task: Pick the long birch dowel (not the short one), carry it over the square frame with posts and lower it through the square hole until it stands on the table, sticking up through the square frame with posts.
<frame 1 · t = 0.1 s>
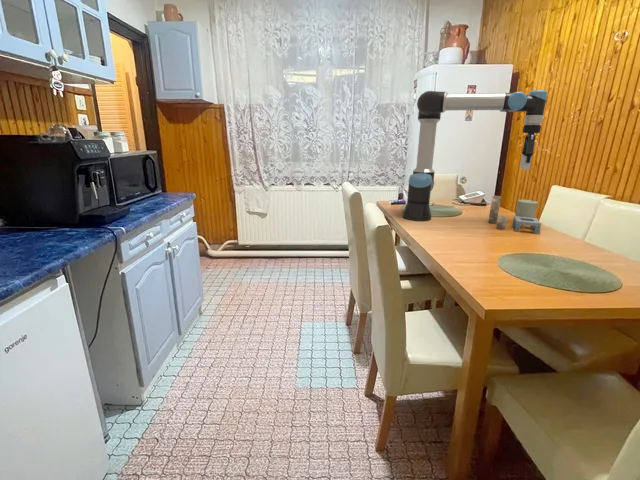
hand: (524, 168, 176), 28 cm above the table, fingers open, 13 cm apart
short dowel: (500, 228, 171), on the table
square frame with posts: (525, 229, 169), on the table
can: (523, 223, 183), on the table
long dowel: (492, 222, 181), on the table
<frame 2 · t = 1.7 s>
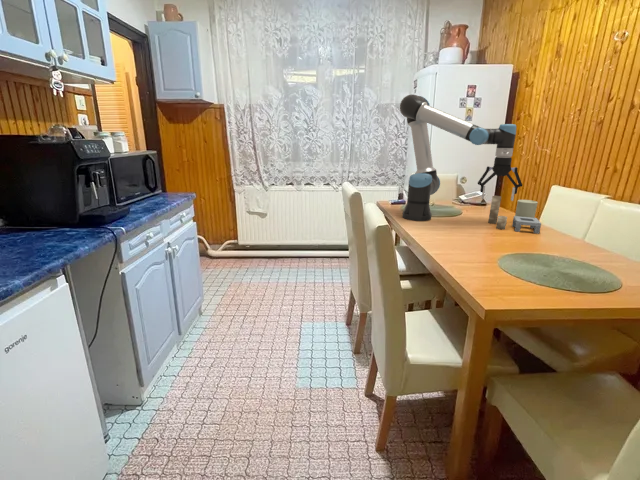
hand: (497, 199, 178), 12 cm above the table, fingers open, 13 cm apart
nothing on the table moved.
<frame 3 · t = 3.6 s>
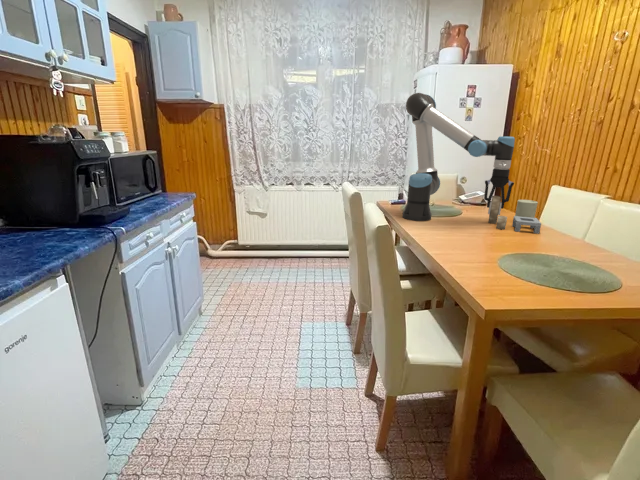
hand: (493, 214, 180), 5 cm above the table, fingers closed on long dowel, 4 cm apart
long dowel: (492, 222, 181), on the table, touching gripper
everything else where it was.
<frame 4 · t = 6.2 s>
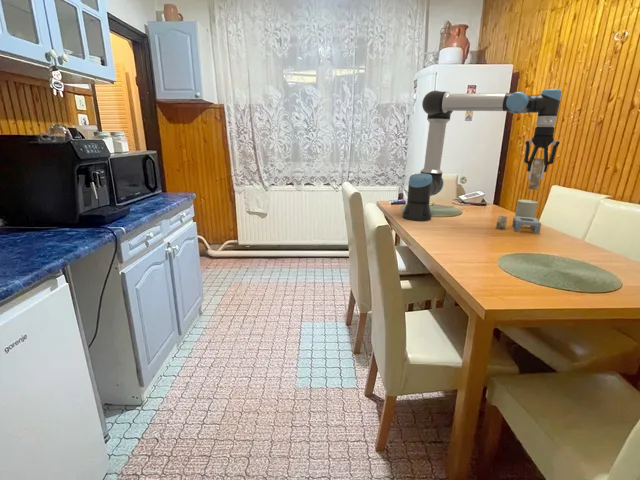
hand: (535, 178, 162), 25 cm above the table, fingers closed on long dowel, 4 cm apart
long dowel: (533, 188, 164), point 20 cm above the table, touching gripper
everything else where it was.
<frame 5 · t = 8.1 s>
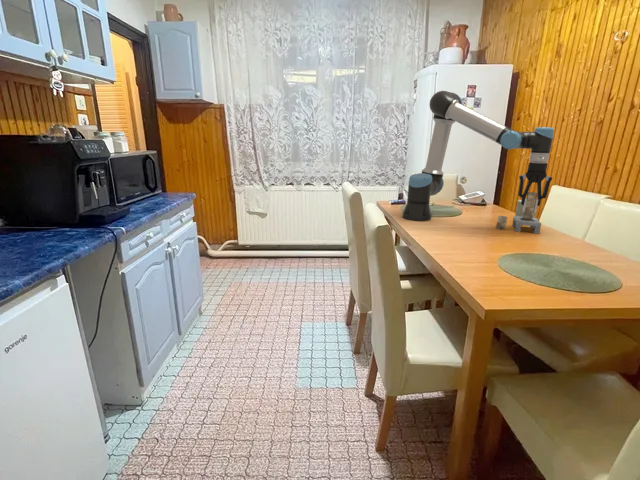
hand: (528, 211, 167), 9 cm above the table, fingers closed on long dowel, 4 cm apart
long dowel: (526, 221, 168), point 4 cm above the table, touching gripper
everything else where it was.
when the fingers open (7 cm above the table, at t = 9.3 s): long dowel drops 2 cm, on the table.
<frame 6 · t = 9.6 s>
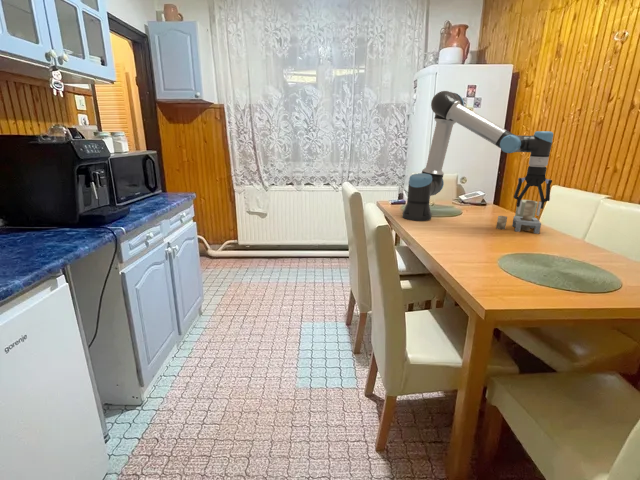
hand: (528, 214, 167), 8 cm above the table, fingers open, 7 cm apart
long dowel: (524, 229, 169), on the table
everything else where it was.
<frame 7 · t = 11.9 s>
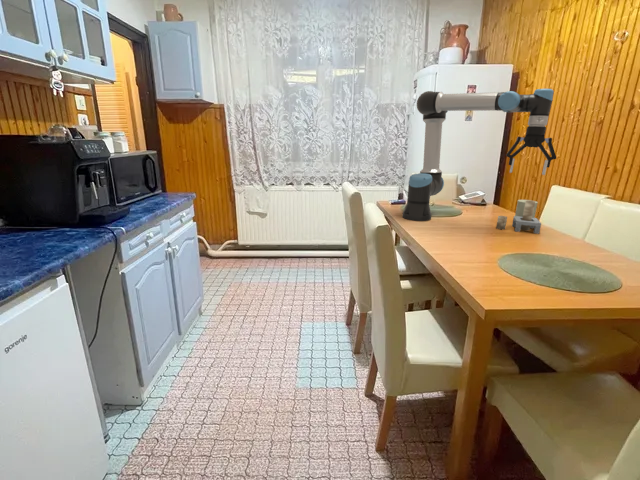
hand: (526, 173, 163), 27 cm above the table, fingers open, 13 cm apart
nothing on the table moved.
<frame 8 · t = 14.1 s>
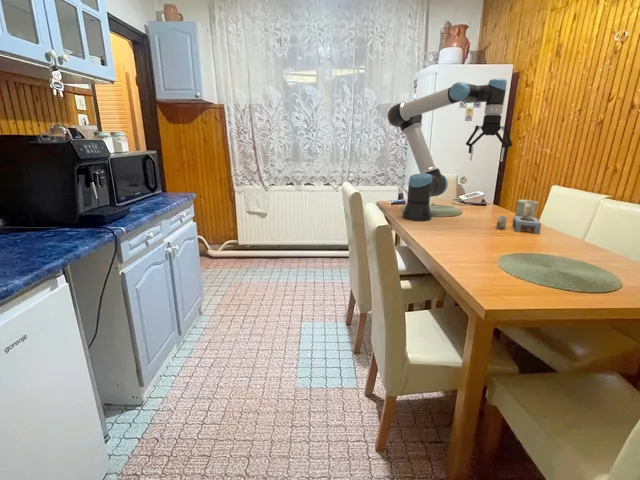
hand: (485, 161, 170), 32 cm above the table, fingers open, 13 cm apart
nothing on the table moved.
at the end: long dowel 0.1 cm off-centre on the square frame with posts, point 0.0 cm above the square frame with posts's base; long dowel tilted 0°; the gripper is holding nothing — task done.
